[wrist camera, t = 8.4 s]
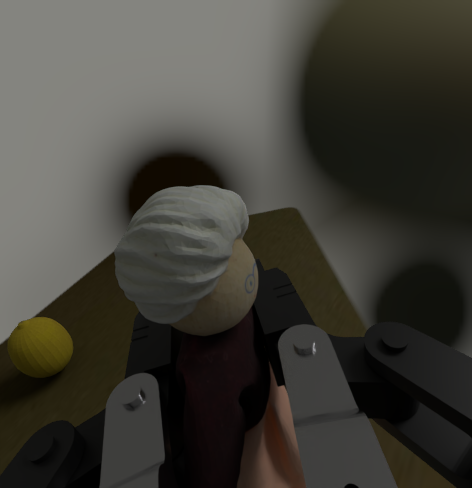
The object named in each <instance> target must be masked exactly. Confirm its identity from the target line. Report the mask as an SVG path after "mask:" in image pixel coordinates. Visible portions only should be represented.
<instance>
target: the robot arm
mask: <svg viewBox="0 0 472 488" xmlns="http://www.w3.org/2000/svg"><path fill="white" fill-rule="evenodd" d="M255 262H256V266H257V270H258V289H257V295H256V298H255V301H254V303H253V305H254V308H255V311H256V314H257V318H258V322H259V326H260V330H261V334H262V339H263V343H264V346H265V350H266V353H267V356H268V359H269V362H270V365H271V368H272V371H273V374H274V377H275V380H276V383H277V386H278V387H279V386H283V385H285V387H286V390H287V393H288V398H289V403H290V408H291V413H292V418H293V424H294V429H295V434H296V439H297V444H298V449H299V454H300V459H301V464H302V469H303V474H304V479H305V484H306V488H397V485H396V483H395V480H394V478H393V476H392V473H391V471H390V469H389V466H388V464H387V461H386V459H385V457H384V454H383V452H382V450H381V447H380V445H379V442H378V440H377V438H376V435H375V433H374V431H373V428H372V426H371V424H370V422H369V420H368V418H371V419H373V420H374V421H375V422H376V423H377V424H378V425H380V426H381V427H382V428H383V429H385V430H386V431H387V432H388V433H390V434H391V435H392V436H393V437H395V438H396V439H397V440H398V441H400V442H401V443H402V444H403V445H404V446H406V447H407V448H408V449H409V450H411V451H412V452H413V453H414V454H416V455H417V456H418V457H419V458H421V459H422V460H423V461H424V462H426V463H427V464H428V465H429V466H430V467H432V468H433V469H434V470H435V471H437V472H438V473H439V474H440V475H442V476H443V477H444V478H445V479H447V480H448V481H449V482H450V483H452V484H453V485H454V486H455V487H456V488H472V358H471V357H469V356H466V355H465V354H463V353H461V352H459V351H457V350H455V349H453V348H451V347H449V346H447V345H445V344H443V343H441V342H439V341H437V340H435V339H433V338H431V337H429V336H427V335H425V334H423V333H421V332H419V331H417V330H415V329H413V328H411V327H409V326H407V325H404V324H400V323H396V322H382V323H378V324H375V325H373V326H372V327H370V328H369V329H368V330H367V332H366V334H365V337H336V336H333V335H330V334H327V333H325V332H324V331H323V330H322V329H320V328H318V327H317V326H316V325H315V323H314V322H313V320H312V318H311V316H310V315H309V313H308V311H307V309H306V308H305V306H304V304H303V302H302V301H301V299H300V297H299V295H298V294H297V293H296V290H295V288H294V287H293V285H292V283H291V281H290V279H289V278H288V276H287V274H286V273H284V272H283V271H281V270H279V269H278V268H273V269H270V270H266V271H264V269H263V267H262V264H261V262H260V260H259V259H255ZM182 338H183V332H182V331H180V330H178V329H176V328H174V327H173V326H171V325H170V324H161V323H157V322H154V321H151V320H148V319H146V318H145V317H144V316H143V315H142V314H141V313H140V311H139V313H138V315H137V316H136V318H135V321H134V327H133V333H132V339H131V340H132V342H131V345H130V351H129V356H128V362H127V368H126V374H125V380H123V381H122V382H121V383H120V384H119V385H118V386H117V387H116V388H115V389H114V390H113V392H112V393H111V395H110V397H109V399H108V401H107V405H106V408H105V409H104V410H103V411H101V412H100V413H98V414H97V415H95V416H93V417H92V418H90V419H88V420H87V421H85V422H84V423H82V424H80V425H79V426H77V427H74V426H73V425H72V424H71V423H69V422H68V421H63V420H61V421H55V422H52V423H50V424H48V425H46V426H44V427H43V428H41V429H40V430H38V431H37V432H36V433H35V434H34V435H33V436H32V437H31V438H30V439H29V440H28V441H27V442H26V443H25V444H24V446H23V447H22V448H21V449H20V451H19V452H18V453H17V455H16V456H15V457H14V459H13V460H12V461H11V463H10V464H9V465H8V466H7V468H6V469H5V470H4V472H3V473H2V474H1V476H0V488H185V477H184V473H185V458H184V436H183V426H184V424H183V419H184V405H185V398H184V396H183V394H182V392H181V389H180V387H179V385H178V382H177V378H176V362H177V358H178V354H179V351H180V347H181V342H182Z"/></svg>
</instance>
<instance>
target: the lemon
mask: <svg viewBox="0 0 472 488" xmlns="http://www.w3.org/2000/svg"><path fill="white" fill-rule="evenodd" d="M72 352H73V344H72V339H71V337H70V335H69V334H68V332H67V331H66V329H65V328H64V327H63V326H62V325H60V324H59V323H58V322H56V321H54V320H52V319H50V318H45V317H36V318H31V319H28V320H26V321H21V322H20V323H19V324H18V326H17V327H16V328H15V329H14V331H13V332H12V333H11V335H10V337H9V340H8V353H9V356H10V358H11V360H12V362H13V363H14V364H15V366H16V367H17V368H18V369H19V370H20V371H21V372H23V373H24V374H26V375H28V376H31V377H35V378H45V377H49V376H52V375H54V374H56V373H58V372H60V371H62V370H63V368H64V367H65V366H66V365H67V364H68V362H69V361H70V359H71V356H72Z"/></svg>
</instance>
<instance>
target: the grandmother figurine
mask: <svg viewBox="0 0 472 488" xmlns="http://www.w3.org/2000/svg"><path fill="white" fill-rule="evenodd" d="M248 222H249V218H248V214H247V209H246V206H245V204H244V202H243V201H242V199H241V197H240V196H239V195H238V194H236V193H234V192H232V191H229V190H224V189H220V188H218V187H214V186H202V185H200V186H193V187H173V188H168V189H164V190H161V191H159V192H157V193H155V194H154V195H153V196H151V197H150V198H149V199H148V200H147V201H146V202H145V204H144V205H143V207H142V208H140V209H139V210H138V211H137V212H136V214H135V215H134V216H133V218H132V220H131V222H130V224H129V226H128V228H127V232H126V234H125V235H124V237H123V238H122V239H121V241H120V243H119V244H118V246H117V248H116V249H115V257H116V261H115V266H116V269H115V274H116V277H117V279H118V283H119V286H120V287H121V288H122V289H123V290H124V293H125V296H126V297H127V298H128V299H129V300H131V301H134V302H135V304H136V306H137V307H138V309H139V311H140V313H141V314H142V315H143V316H144V317H145V318H146V319H148V320H151V321H154V322H157V323H161V324H170V325H171V326H173V327H174V328H176V329H178V330H180V331H182V332H183V338H182V342H181V347H180V351H179V354H178V358H177V362H176V378H177V382H178V385H179V387H180V389H181V392H182V394H183V396H184V398H185V405H184V419H183V424H184V426H183V436H184V458H185V473H184V477H185V488H306V484H305V479H304V474H303V469H302V464H301V459H300V454H299V449H298V444H297V439H296V434H295V429H294V424H293V418H292V413H291V408H290V403H289V398H288V394H287V392H286V389H285V387H284V385H283V386H279V387H278V386H277V383H276V380H275V377H274V374H273V371H272V368H271V365H270V363H269V359H268V356H267V353H266V350H265V348H264V343H263V339H262V334H261V330H260V326H259V322H258V318H257V314H256V311H255V308H254V305H253V303H254V301H255V298H256V295H257V289H258V270H257V266H256V262H255V259H254V257H253V255H252V253H251V252H250V250H249V248H248V247H247V246H246V244H245V243H244V242H243V240H242V237H243V235H244V233H245V232H246V230H247V228H248Z"/></svg>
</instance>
